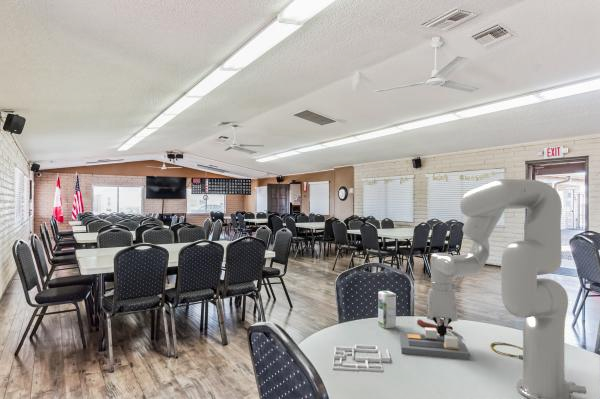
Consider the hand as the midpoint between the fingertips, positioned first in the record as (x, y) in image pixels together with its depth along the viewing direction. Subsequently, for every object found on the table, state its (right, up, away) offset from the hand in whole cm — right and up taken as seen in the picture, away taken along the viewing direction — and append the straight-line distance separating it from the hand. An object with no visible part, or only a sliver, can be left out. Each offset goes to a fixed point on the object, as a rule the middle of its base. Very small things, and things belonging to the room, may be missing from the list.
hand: (441, 335), depth 134 cm
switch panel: (-5, -3, -3) cm, 6 cm away
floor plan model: (-32, -4, -9) cm, 33 cm away
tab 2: (0, -1, -7) cm, 7 cm away
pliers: (+5, -4, +16) cm, 17 cm away
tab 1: (-4, -1, +1) cm, 4 cm away
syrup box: (-16, -4, +21) cm, 26 cm away
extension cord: (+23, -4, -7) cm, 24 cm away
